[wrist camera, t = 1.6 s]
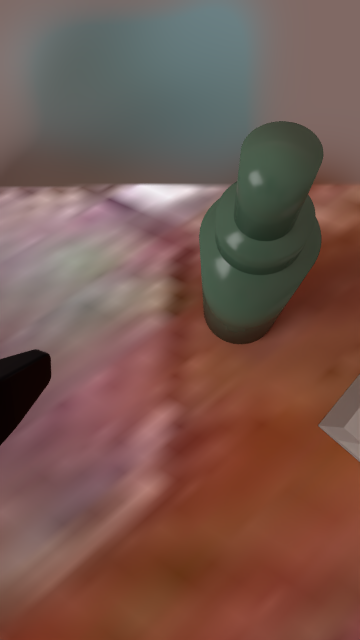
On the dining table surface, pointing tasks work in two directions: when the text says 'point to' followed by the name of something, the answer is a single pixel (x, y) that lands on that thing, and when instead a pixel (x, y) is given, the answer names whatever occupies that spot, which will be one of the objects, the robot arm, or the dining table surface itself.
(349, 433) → the u rest
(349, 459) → the dining table surface
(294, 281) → the glass bottle
